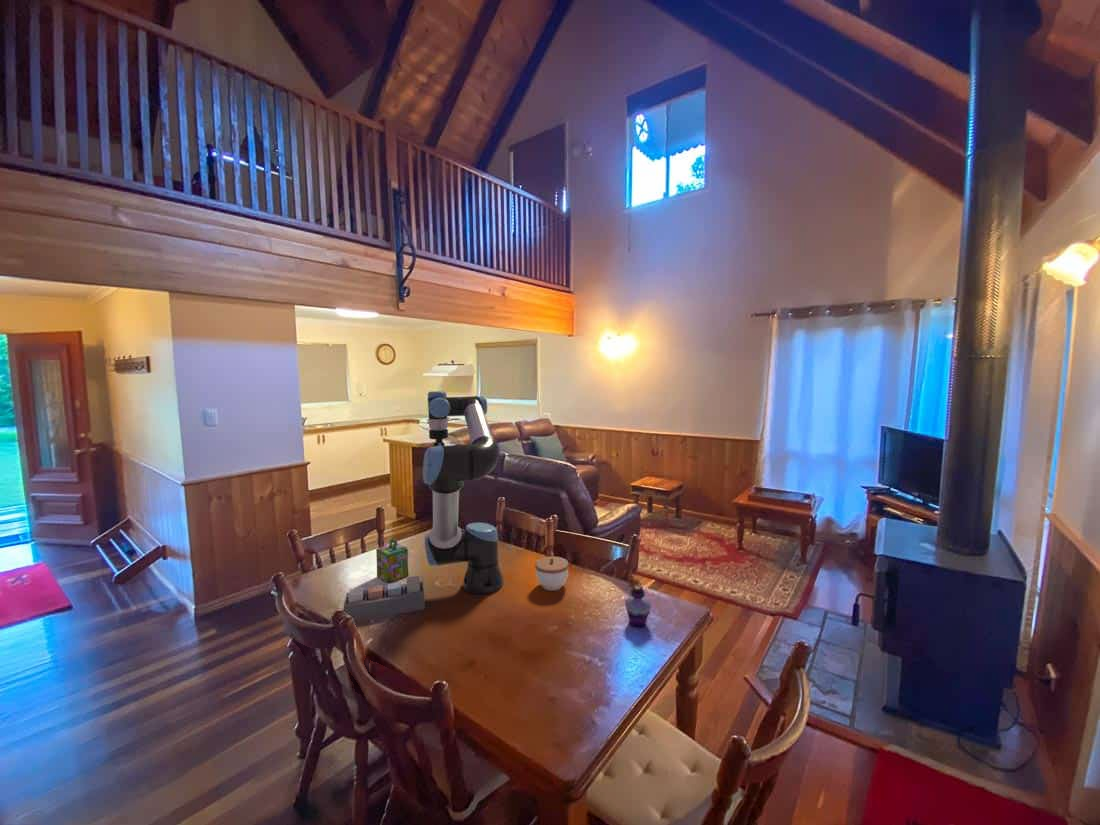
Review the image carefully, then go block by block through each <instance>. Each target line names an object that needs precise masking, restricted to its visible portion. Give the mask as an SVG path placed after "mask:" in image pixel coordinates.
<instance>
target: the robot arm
mask: <svg viewBox="0 0 1100 825" xmlns="http://www.w3.org/2000/svg"><path fill="white" fill-rule="evenodd" d="M427 407H428V408H427V412H428V421H427V422H426V423H427V424H428V429H429V430H428V434H429V435H428V436H429V439H430V440H435V442H433V446H430V447H428V448H426V450H425V452H424V456H423V466H422V480H423V483H424V484H425V485H428V487H429V489H430V490H431V491H432V527H431V529H430V530H429V532H428V533H426V534H425V535H424V548H425V554H426V560H427V563H428V564H429V566H432V567H434V566H435V567H436V566H442V565H443V566H444V565H451V564H458V563H465V562H466V564H467V567H466V570H465V574H464V577H463V585H462V586H463V589H464V590H465V591H466V592H467V593H470V594H474V595H475V594H476V595H485V594H491V593H495V592H498V590H500V589H501V588H503V586H504V576H503V572H502V569H501V567H500V565H499V564H500V563H499V544H498V543H499V537H498V529H497V527H495V526H494V525H492V524H490V523H485V522H472V523H468V524H467V525H466V526H465V529H461V528H460V526H458V525H459V502H460V501H459V500H460V491H461V489H462V488H463V487H464V484H465V482H469V481H478V480H481V479H483V478H485V477H487V476H488V475H489V474H490V473H492V471H493V470H494V469H495V468H496V466H497V464H498V463H499V462H498V461H499V458H500V452H501V451H500V446H499V443H498V442H497V440H496V439H495V438H494V437H493V435H492V432H491V429H490V426H489V423H488V421H487V417H486V415H487V414H488V413H487V412H488V401H487V398H486V397H485V396H478V395H473V396H447V392H446V391H444V390H437V391H429V392H428V393H427ZM448 417H464V419H465V423H466V427H467V432H468V436H469V439H470V443H468V444H455V445H445V442H443V440H445V439H448V438H449V429H448V427H449V421H448V419H449V418H448Z"/></svg>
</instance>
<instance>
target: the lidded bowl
mask: <svg viewBox="0 0 1100 825" xmlns="http://www.w3.org/2000/svg"><path fill="white" fill-rule="evenodd" d="M569 564H570V562H569V561H568V560H567V559H566V558H563V557H560V556H544V557H541V558H539V559H537V560H536V561H535V564H534V568H535V576H536V579H537V582H538V584H539V585H540V586H541V587H542V588H543V589H544V590H545V591H548V592H549V591H553V592H554V591H558V590H561V588H562V587H563V586H564V585H565V583H566V581H567V579H568V576H569V566H570V565H569Z"/></svg>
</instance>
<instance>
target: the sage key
mask: <svg viewBox="0 0 1100 825" xmlns="http://www.w3.org/2000/svg"><path fill="white" fill-rule="evenodd" d="M405 578H406V584H407V594H408V593H414V592H420V582H421V580H420V575H416V576H409V577H408V576H407V577H405Z"/></svg>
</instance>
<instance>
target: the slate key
mask: <svg viewBox="0 0 1100 825" xmlns="http://www.w3.org/2000/svg"><path fill="white" fill-rule="evenodd" d="M401 585H402V582H401V581H399V582H390V583H387V587H388V597H389V596H395V595H402V589H401Z"/></svg>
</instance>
